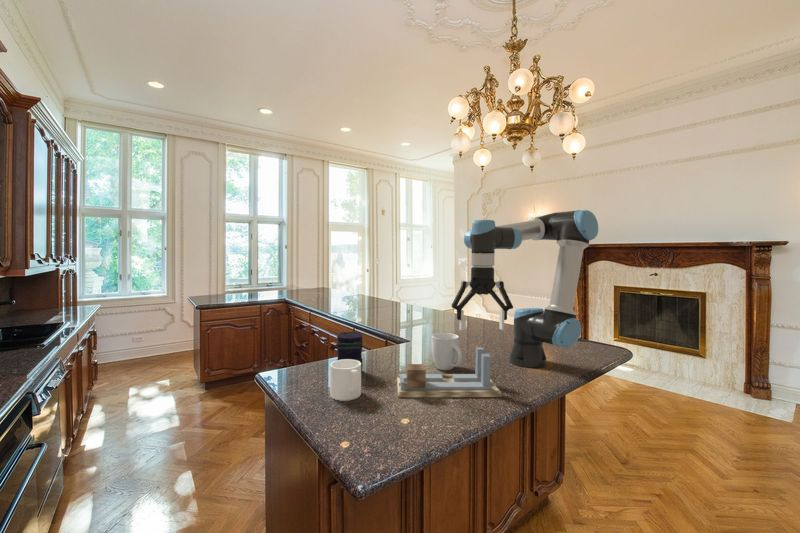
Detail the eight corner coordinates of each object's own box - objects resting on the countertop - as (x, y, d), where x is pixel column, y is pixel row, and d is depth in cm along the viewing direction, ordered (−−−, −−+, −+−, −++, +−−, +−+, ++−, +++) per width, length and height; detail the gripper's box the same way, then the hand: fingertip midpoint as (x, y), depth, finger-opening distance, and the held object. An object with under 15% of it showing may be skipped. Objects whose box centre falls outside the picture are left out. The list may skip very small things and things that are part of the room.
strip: (488, 386, 121) (488, 353, 120) (491, 390, 117) (492, 356, 116) (400, 386, 120) (400, 353, 119) (400, 391, 116) (401, 357, 115)
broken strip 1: (441, 377, 128) (441, 374, 128) (442, 381, 124) (442, 378, 124) (400, 377, 128) (400, 374, 128) (400, 382, 124) (400, 378, 124)
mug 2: (471, 372, 138) (471, 339, 137) (449, 377, 132) (450, 343, 131) (446, 361, 150) (446, 331, 150) (425, 366, 144) (425, 334, 144)
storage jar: (367, 373, 136) (367, 334, 136) (347, 379, 129) (347, 339, 128) (351, 367, 143) (351, 330, 142) (331, 373, 136) (331, 334, 135)
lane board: (488, 378, 131) (488, 374, 131) (502, 396, 115) (502, 391, 115) (397, 379, 130) (397, 374, 130) (397, 397, 114) (397, 391, 114)
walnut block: (423, 381, 121) (424, 364, 121) (425, 388, 115) (425, 370, 115) (406, 381, 121) (406, 364, 121) (407, 388, 115) (407, 370, 115)
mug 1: (325, 393, 117) (325, 362, 117) (352, 386, 123) (352, 357, 122) (342, 407, 107) (342, 373, 106) (370, 398, 113) (370, 367, 112)
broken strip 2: (482, 377, 129) (482, 346, 128) (485, 381, 125) (485, 350, 124) (452, 377, 128) (452, 346, 128) (454, 381, 124) (454, 350, 124)
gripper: (515, 266, 122) (514, 327, 123) (443, 265, 121) (443, 327, 122) (523, 267, 114) (522, 332, 115) (447, 266, 114) (446, 332, 115)
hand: (481, 329), depth 119 cm, fingers open, 13 cm apart
